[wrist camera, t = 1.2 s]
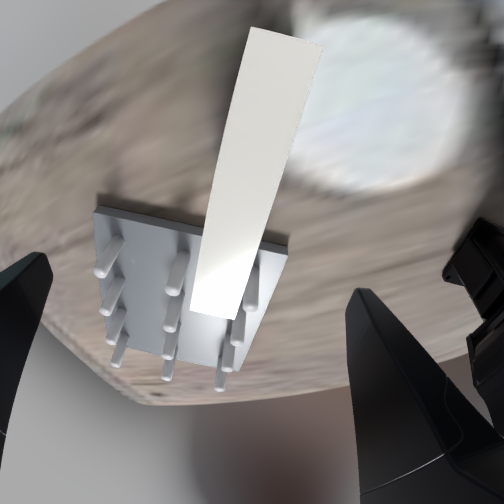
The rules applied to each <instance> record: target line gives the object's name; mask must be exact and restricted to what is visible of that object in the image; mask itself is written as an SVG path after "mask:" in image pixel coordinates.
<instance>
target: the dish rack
mask: <svg viewBox="0 0 504 504" xmlns="http://www.w3.org/2000/svg"><path fill="white" fill-rule="evenodd" d="M93 218H94V234H95V246H96V257H97V263H96V265H95V267H94V269H93V272H94V274H95V275H96V276H97V277H99V284H100V291H101V298H102V304H101V306H100V308H99V311H100V313H101V314H103V315H104V317H105V323H106V329H107V335H106V338H105V341H106V343H108V344H110V345H115V344H117V345H116V348H115V350H114V353H113V356H112V359H111V362H110V364H111V365H112V366H113V367H116V368H119V367H120V365H121V362H122V359H123V356H124V353H125V350H126V347H129V348H132V349H136V350H140V351H144V352H148V353H152V354H156V355H160V356H162V357H163V358H164V359H165V362H164V366H163V370H162V374H161V378H162V379H163V380H165V381H171V379H172V375H173V370H174V365H175V361H176V359H177V360H181V361H186V362H191V363H195V364H200V365H205V366H210V367H216V368H217V369H216V377H215V385H214V390H216V391H219V392H222V391H225V384H226V374H227V372H231V371H238V372H239V370H240V367H241V365H242V363H243V361H244V358H245V356H246V354H247V352H248V349H249V347H250V345H251V343H252V340H253V338H254V336H255V333H256V331H257V329H258V327H259V324H260V322H261V320H262V317H263V315H264V313H265V310H266V308H267V306H268V303H269V301H270V298H271V296H272V294H273V291H274V289H275V287H276V284H277V282H278V279H279V277H280V275H281V272H282V270H283V267H284V265H285V262H286V260H287V258H288V247H286V246H281V245H277V244H273V243H268V242H264V241H260V244H259V247H258V250H257V253H256V256H255V259H254V262H253V265H252V268H251V271H250V274H249V278H248V281H247V284H246V287H245V290H244V293H243V296H242V299H241V302H240V305H239V308H238V311H237V314H236V317H235V320H234V319H229V318H224V317H219V316H214V315H210V314H205V313H200V312H196V311H191V310H190V305H191V299H192V293H193V287H194V281H195V275H196V269H197V263H198V258H199V252H200V247H201V241H202V236H203V230H204V228H202V227H197V226H193V225H188V224H184V223H179V222H175V221H170V220H166V219H161V218H156V217H152V216H147V215H142V214H138V213H133V212H129V211H124V210H119V209H114V208H110V207H105V206H100V205H99V206H98V207H97V208H96V210H95V211H94V212H93Z"/></svg>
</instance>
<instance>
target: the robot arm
mask: <svg viewBox="0 0 504 504" xmlns="http://www.w3.org/2000/svg"><path fill="white" fill-rule="evenodd" d="M481 224H482V225H481ZM442 278H443V280H444V281H445V282H449V283H453V284H457V285H461V286H464V287H465V289H466V291H467V292H468V294H469V296H470V298H471V299H472V301H473V303H474V305H475V307H476V308H477V310H478V312H479V314H480V316H481V318H482V320H483V323H482V324H481V325H480V326H479V327H478V328H477V329H476V330H475V331H474V332H473V333H471V334H469V335H468V336H467V337H466V341H467V347H468V353H469V358H470V365H471V372H472V378H473V385H474V387H475V388H476V389H477V391H478V393H479V395H480V396H481V397H482V398H483V400H484V401H485V403H486V405H487V407H488V410H489V413H490V416H491V419H492V423H493V426H494V428H493V427H492V426H491V425H490V423H489V422H488V421H487V420H486V419H485V418H484V417H483V416H482V415H481V414H480V413H479V412H478V411H477V410H476V408H475V407H474V406H473V405H472V404H471V403H470V402H469V401H468V400H467V399H466V397H465V396H464V395H463V394H462V393H461V392H460V390H459V389H458V388H457V387H456V386H455V384H454V383H453V382H452V381H451V380H450V378H449V377H446V374H445V373H444V371H443V370H442V369H441V368H440V367H439V365H438V364H437V363H436V362H435V361H434V359H433V358H432V357H431V356H430V355H429V354H428V352H427V351H426V350H425V349H424V348H423V347H422V346H421V344H420V343H419V342H418V341H417V340H416V339H415V338H414V336H413V335H412V334H411V333H410V332H409V331H408V330H407V328H406V327H405V326H404V325H403V324H402V323H401V322H400V321H399V320H398V318H397V317H396V316H395V315H394V314H393V313H392V312H391V311H390V310H389V308H388V307H387V306H386V305H385V304H384V303H383V302H382V301H381V300H380V299H379V298H378V297H377V295H376V294H375V293H374V292H373V291H372V290H371V289H368V288H356V289H355V290H354V292H353V294H352V296H351V299H350V301H349V303H348V305H347V308H346V312H345V321H346V345H347V366H348V374H349V382H350V389H351V397H352V406H353V415H354V424H355V434H356V444H357V456H358V469H359V485H360V494H361V495H360V504H504V438H503V437H504V228H502V227H501V226H499V225H497V224H495V223H493V222H491V221H489V220H487V219H485V218H479V219H478V220H477V221H476V223H475V225H474V226H473V228H472V230H471V231H470V233H469V235H468V236H467V238H466V239H465V241H464V243H463V244H462V246H461V247H460V249H459V250H458V252H457V253H456V255H455V256H454V258H453V259H452V261H451V262H450V264H449V265H448V267H447V268H446V270H445V271H444V272H443V274H442ZM52 281H53V272H52V270H51V267H50V264H49V261H48V258H47V256H46V254H45V253H42V252H32V253H30V254H29V255H27V256H25V257H24V258H22V259H21V260H19V261H17V262H16V263H14V264H13V265H11V266H9V267H8V268H6V269H5V270H3V271H2V272H0V468H1V461H2V455H3V449H4V443H5V438H6V433H7V428H8V423H9V419H10V415H11V411H12V406H13V403H14V399H15V395H16V392H17V388H18V385H19V381H20V378H21V375H22V371H23V368H24V365H25V362H26V359H27V356H28V353H29V350H30V347H31V344H32V341H33V339H34V336H35V333H36V331H37V328H38V325H39V322H40V320H41V316H42V313H43V310H44V306H45V303H46V300H47V297H48V294H49V290H50V287H51V284H52ZM500 435H501V436H500ZM502 436H503V437H502Z"/></svg>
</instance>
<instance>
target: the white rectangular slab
mask: <svg viewBox="0 0 504 504" xmlns="http://www.w3.org/2000/svg"><path fill="white" fill-rule="evenodd" d="M323 47H324V46H321V45H318V44H315V43H312V42H308V41H305V40H302V39H298V38H295V37H291V36H288V35H284V34H280V33H276V32H272V31H268V30H264V29H260V28H255V27H251V29H250V32H249V36H248V40H247V43H246V47H245V51H244V54H243V58H242V62H241V66H240V69H239V73H238V77H237V81H236V85H235V89H234V93H233V97H232V101H231V105H230V109H229V113H228V118H227V122H226V126H225V130H224V135H223V139H222V144H221V148H220V153H219V157H218V162H217V166H216V171H215V176H214V180H213V185H212V190H211V195H210V200H209V205H208V210H207V215H206V220H205V225H204V230H203V236H202V241H201V247H200V252H199V258H198V263H197V269H196V275H195V281H194V287H193V293H192V299H191V305H190V310H191V311H196V312H200V313H205V314H210V315H214V316H219V317H224V318H229V319H234V320H235V317H236V314H237V311H238V308H239V305H240V302H241V299H242V296H243V293H244V290H245V287H246V284H247V281H248V278H249V274H250V271H251V268H252V265H253V262H254V259H255V256H256V253H257V250H258V247H259V244H260V241H261V238H262V235H263V232H264V229H265V226H266V223H267V220H268V217H269V214H270V211H271V208H272V204H273V201H274V198H275V195H276V192H277V189H278V186H279V183H280V180H281V177H282V174H283V171H284V168H285V165H286V162H287V158H288V155H289V152H290V149H291V146H292V143H293V140H294V137H295V134H296V131H297V128H298V125H299V121H300V118H301V115H302V112H303V109H304V106H305V103H306V100H307V97H308V94H309V90H310V87H311V84H312V81H313V78H314V75H315V72H316V69H317V66H318V62H319V59H320V56H321V53H322V50H323Z"/></svg>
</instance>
